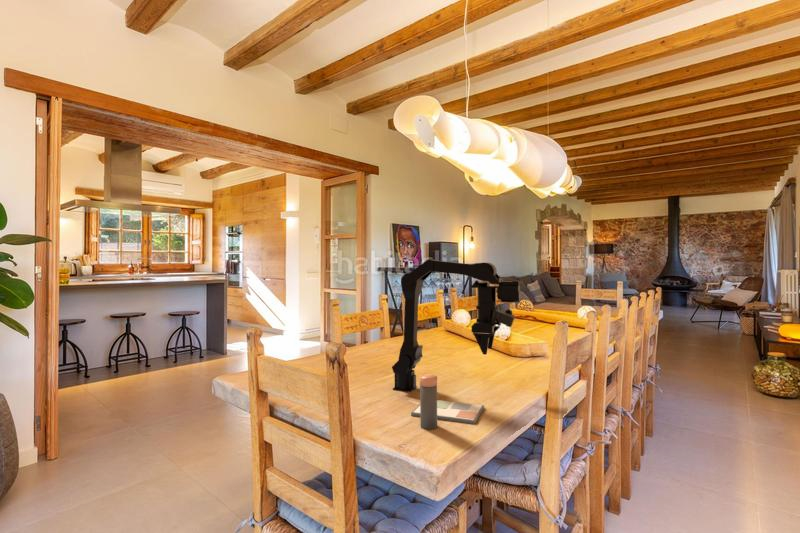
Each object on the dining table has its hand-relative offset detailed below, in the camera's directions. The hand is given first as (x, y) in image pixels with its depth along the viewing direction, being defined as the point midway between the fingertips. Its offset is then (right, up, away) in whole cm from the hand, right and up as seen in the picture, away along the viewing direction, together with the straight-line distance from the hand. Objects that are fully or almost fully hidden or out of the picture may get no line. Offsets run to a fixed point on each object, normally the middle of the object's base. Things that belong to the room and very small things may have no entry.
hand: (487, 351), depth 131 cm
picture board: (-14, -15, -13) cm, 24 cm away
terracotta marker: (-20, -15, -23) cm, 34 cm away
